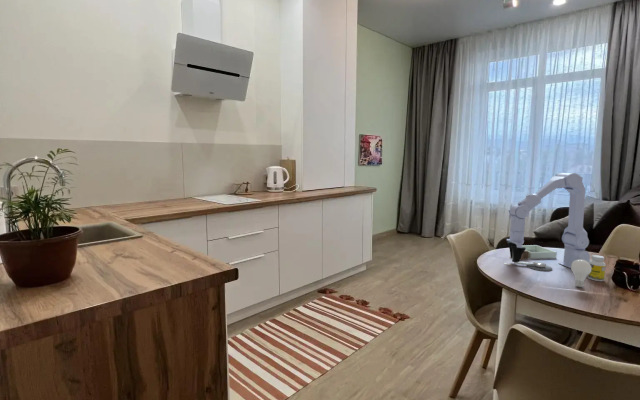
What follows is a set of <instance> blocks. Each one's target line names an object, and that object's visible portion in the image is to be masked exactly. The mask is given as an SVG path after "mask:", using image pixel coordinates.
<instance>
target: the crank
mask: <svg viewBox="0 0 640 400" xmlns="http://www.w3.org/2000/svg"><path fill="white" fill-rule="evenodd" d="M512 253H513V252H512ZM511 262H512V263H514V264H515V265H523V266H526V265H532V266H535V267H539V268H546V265H547V264H546V263H544V262H540V261H534V262H530V261H529V262H528V261H520V262H515V261H514V258H513V254H512V257H511Z"/></svg>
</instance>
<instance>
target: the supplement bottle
mask: <svg viewBox="0 0 640 400" xmlns="http://www.w3.org/2000/svg"><path fill="white" fill-rule="evenodd" d="M604 261H605V257H604V256H603V255H598V254H597V255H596V254H592V255H591V259H590V260H589V263H590V265H591V268H592V270H591V272H590V274H589V275H587V278H588V279H589V280H592V281H596V282H604V280H605V276H606V275H605V274H606V266H607V265H606V263H605V262H604Z"/></svg>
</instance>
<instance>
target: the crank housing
mask: <svg viewBox="0 0 640 400" xmlns="http://www.w3.org/2000/svg"><path fill="white" fill-rule="evenodd" d="M506 264H507V266H508V265H509V266H512V263H506V262H503V265H506ZM525 266H526V267H527V268H529V269H531V270H535V271H541V272H552V271H553V267H551V266H550V265H547V264H546V268H539V267H535V266H532V265H525Z"/></svg>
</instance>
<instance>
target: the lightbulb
mask: <svg viewBox="0 0 640 400" xmlns="http://www.w3.org/2000/svg"><path fill="white" fill-rule="evenodd" d="M570 269H571V271H572V273H573V275H574V279H575V280H574V281H575V283H574V286H576V287H577V288H584V284H585V280H586V279H587V277H588V275H589V274H590V272H591V270H592V268H591V265H590V263H589V262H587V261H585V260H582V259H578V260H575V261H573V262H572V264H571V268H570Z"/></svg>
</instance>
